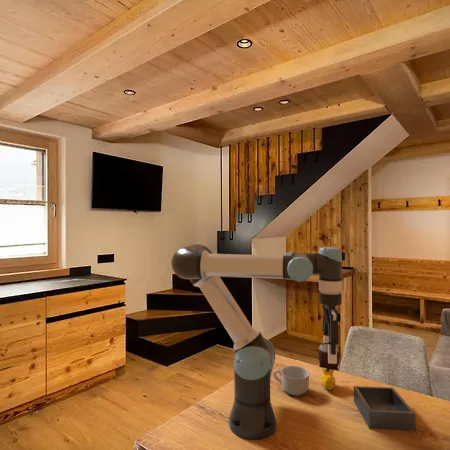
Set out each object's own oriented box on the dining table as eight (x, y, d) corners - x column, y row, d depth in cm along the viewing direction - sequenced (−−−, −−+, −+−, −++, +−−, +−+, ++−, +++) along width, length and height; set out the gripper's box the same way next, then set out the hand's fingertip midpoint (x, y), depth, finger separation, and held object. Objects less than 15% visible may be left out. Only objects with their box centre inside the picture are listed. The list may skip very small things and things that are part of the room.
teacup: (313, 389, 132) (313, 369, 132) (303, 401, 123) (303, 380, 123) (280, 381, 140) (280, 361, 140) (269, 392, 131) (269, 371, 131)
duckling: (320, 380, 141) (320, 356, 141) (333, 381, 139) (333, 357, 139) (322, 393, 130) (321, 367, 130) (336, 394, 128) (336, 368, 128)
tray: (369, 428, 107) (369, 411, 107) (353, 401, 124) (353, 386, 124) (415, 431, 105) (415, 413, 106) (393, 402, 122) (393, 387, 122)
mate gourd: (320, 362, 121) (320, 321, 121) (343, 366, 117) (343, 324, 117) (316, 370, 114) (316, 326, 114) (340, 375, 111) (340, 329, 111)
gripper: (349, 298, 106) (349, 371, 106) (334, 287, 126) (334, 348, 126) (325, 298, 107) (324, 370, 107) (314, 286, 126) (313, 347, 126)
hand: (329, 358), depth 116 cm, fingers closed on mate gourd, 7 cm apart
